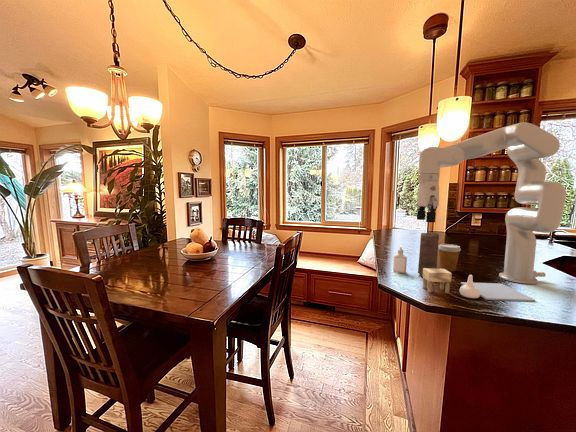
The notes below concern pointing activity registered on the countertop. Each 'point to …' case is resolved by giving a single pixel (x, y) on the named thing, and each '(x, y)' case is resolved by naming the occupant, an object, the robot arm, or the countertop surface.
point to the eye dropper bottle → (400, 262)
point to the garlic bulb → (469, 289)
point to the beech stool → (436, 278)
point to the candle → (428, 251)
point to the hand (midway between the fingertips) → (425, 220)
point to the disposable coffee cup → (448, 256)
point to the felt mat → (499, 292)
